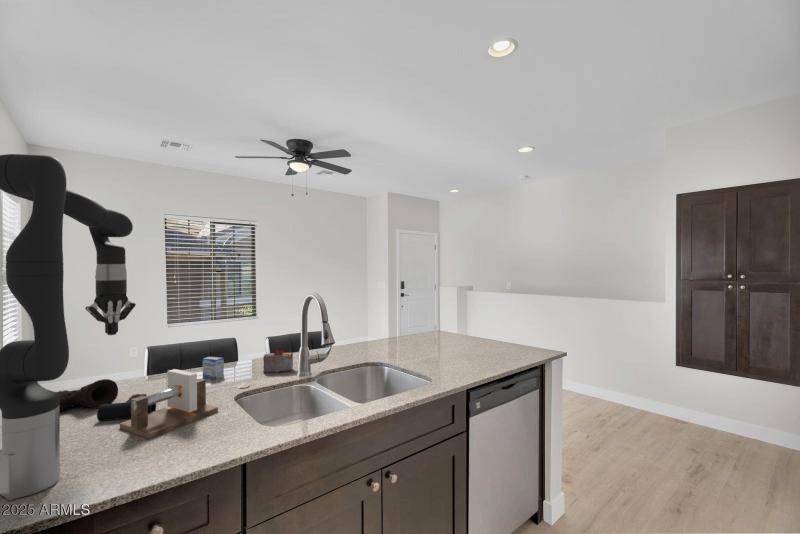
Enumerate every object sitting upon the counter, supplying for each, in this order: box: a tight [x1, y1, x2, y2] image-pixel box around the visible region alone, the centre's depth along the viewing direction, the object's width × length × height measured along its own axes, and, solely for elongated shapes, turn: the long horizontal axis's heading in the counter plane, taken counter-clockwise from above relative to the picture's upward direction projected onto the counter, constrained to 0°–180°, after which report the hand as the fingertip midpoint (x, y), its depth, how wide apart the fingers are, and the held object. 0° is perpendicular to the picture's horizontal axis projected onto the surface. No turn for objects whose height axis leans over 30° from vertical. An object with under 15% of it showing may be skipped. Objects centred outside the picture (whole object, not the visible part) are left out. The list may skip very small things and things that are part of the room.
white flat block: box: [166, 368, 198, 412], centre depth 121 cm, size 2×12×12 cm, turn 63°
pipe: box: [55, 378, 119, 412], centre depth 129 cm, size 10×15×15 cm
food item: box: [262, 350, 294, 373], centre depth 172 cm, size 14×8×10 cm, turn 102°
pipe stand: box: [119, 378, 219, 440], centre depth 118 cm, size 22×16×10 cm
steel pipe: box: [131, 386, 182, 410], centre depth 118 cm, size 22×3×3 cm, turn 153°
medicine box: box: [202, 356, 225, 379], centre depth 163 cm, size 8×4×9 cm, turn 73°
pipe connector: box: [96, 393, 157, 421], centre depth 123 cm, size 12×5×15 cm
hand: (111, 334), depth 112 cm, fingers closed
